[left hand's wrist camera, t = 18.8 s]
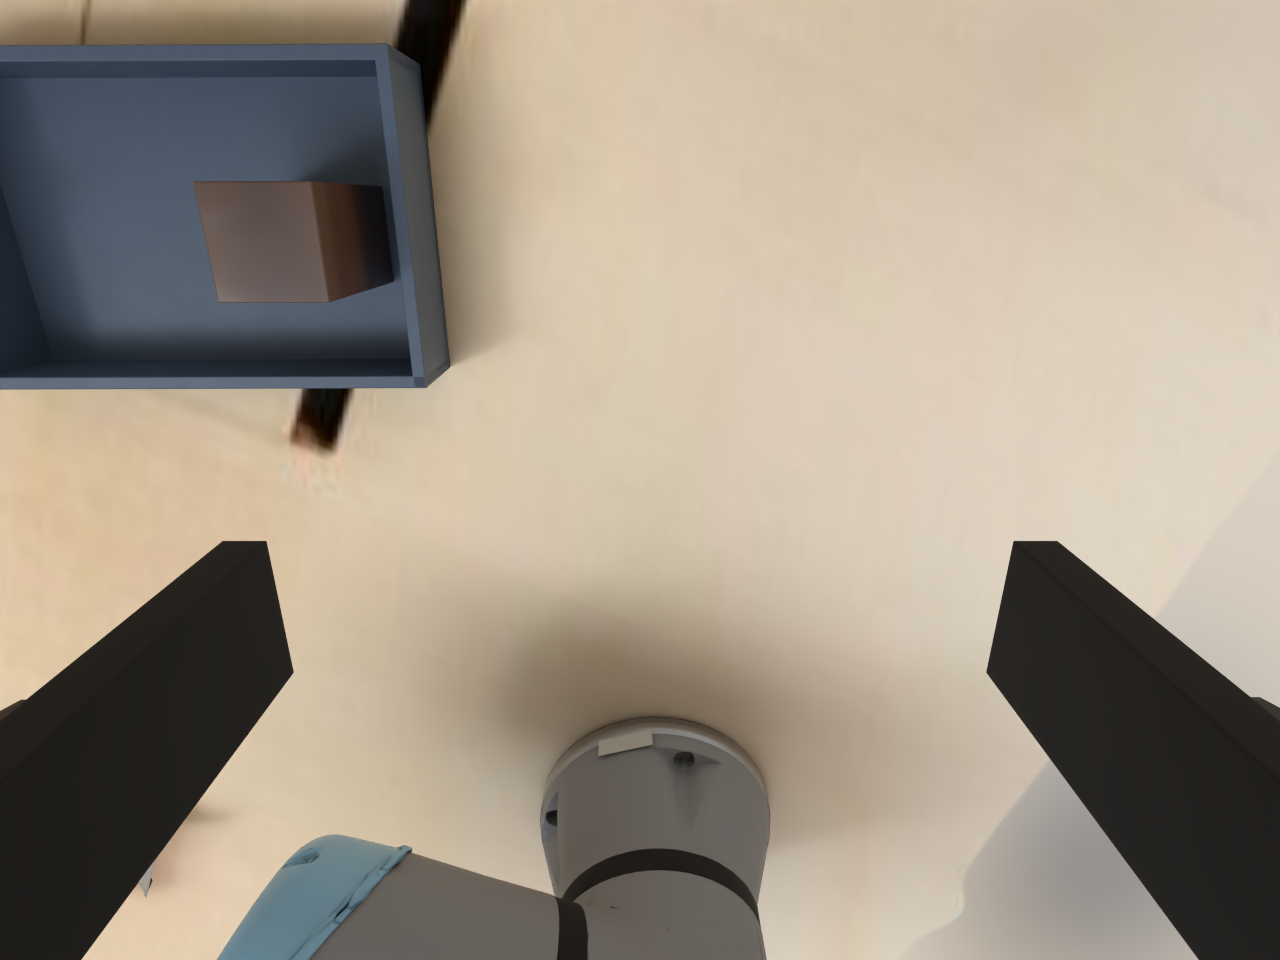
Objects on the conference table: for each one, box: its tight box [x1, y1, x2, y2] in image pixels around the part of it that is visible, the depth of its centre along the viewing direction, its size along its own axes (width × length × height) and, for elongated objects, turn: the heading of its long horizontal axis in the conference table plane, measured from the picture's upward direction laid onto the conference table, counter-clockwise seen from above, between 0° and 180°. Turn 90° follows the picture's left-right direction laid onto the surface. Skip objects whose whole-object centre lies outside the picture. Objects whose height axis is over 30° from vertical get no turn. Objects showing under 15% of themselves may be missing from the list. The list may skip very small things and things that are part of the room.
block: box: [194, 181, 394, 303], centre depth 32 cm, size 4×4×8 cm
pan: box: [0, 44, 450, 389], centre depth 32 cm, size 29×14×7 cm, turn 90°
